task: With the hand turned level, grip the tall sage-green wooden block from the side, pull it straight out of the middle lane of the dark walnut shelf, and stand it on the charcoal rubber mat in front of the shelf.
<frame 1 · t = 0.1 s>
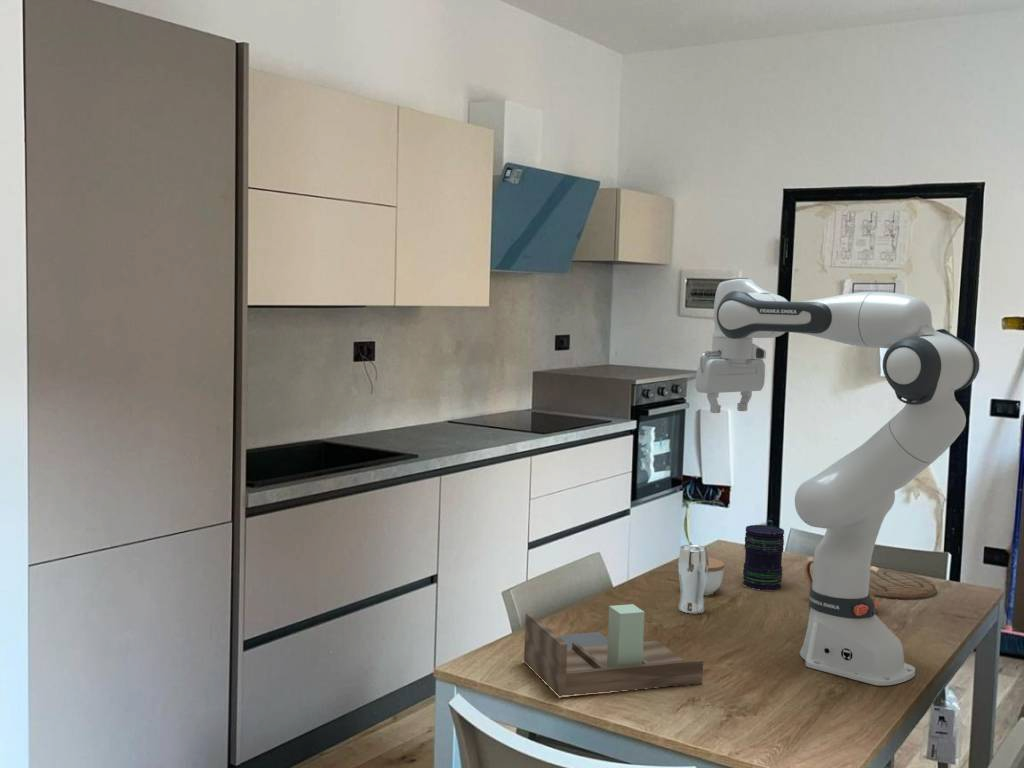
hand: (728, 411, 228), 48 cm above the table, tool pointing down, fingers open, 8 cm apart
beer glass: (691, 611, 238), on the table
block: (624, 670, 192), point 2 cm above the table, touching lane shelf
lane shelf: (614, 673, 196), on the table
ceramic jug: (838, 607, 245), on the table
storage jar: (761, 586, 262), on the table
trivet: (884, 588, 265), on the table
lidded jar: (701, 592, 254), on the table
mat: (581, 645, 212), on the table
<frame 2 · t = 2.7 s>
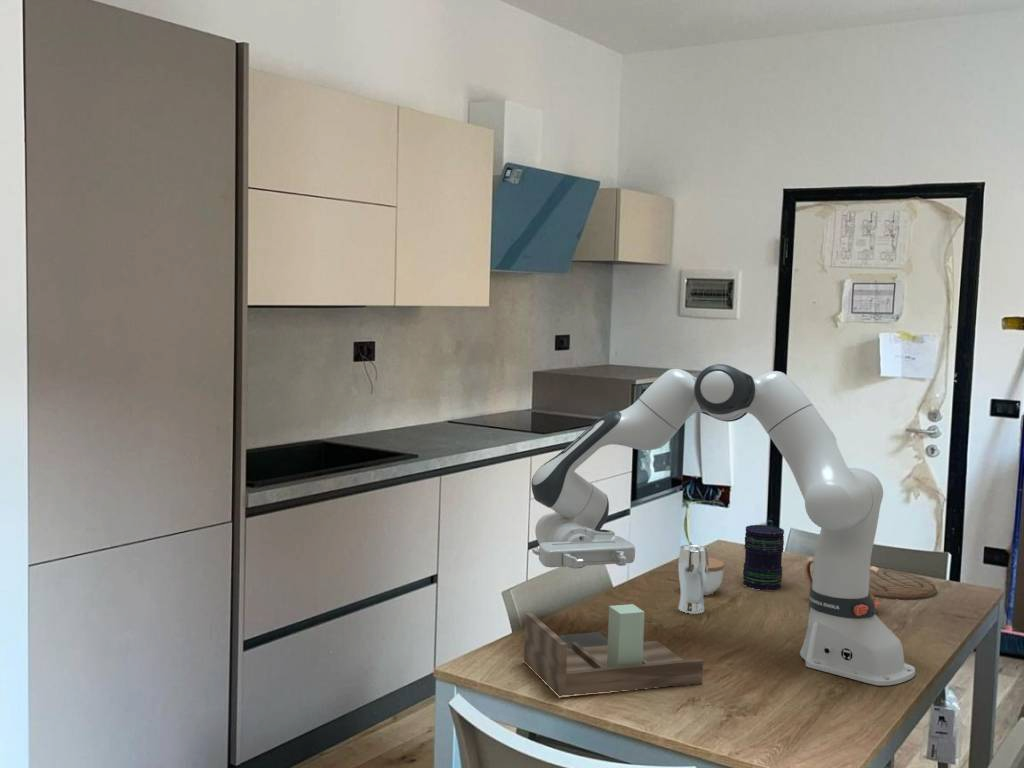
hand: (601, 563, 202), 20 cm above the table, tool horizontal, fingers open, 8 cm apart
nothing on the table moved.
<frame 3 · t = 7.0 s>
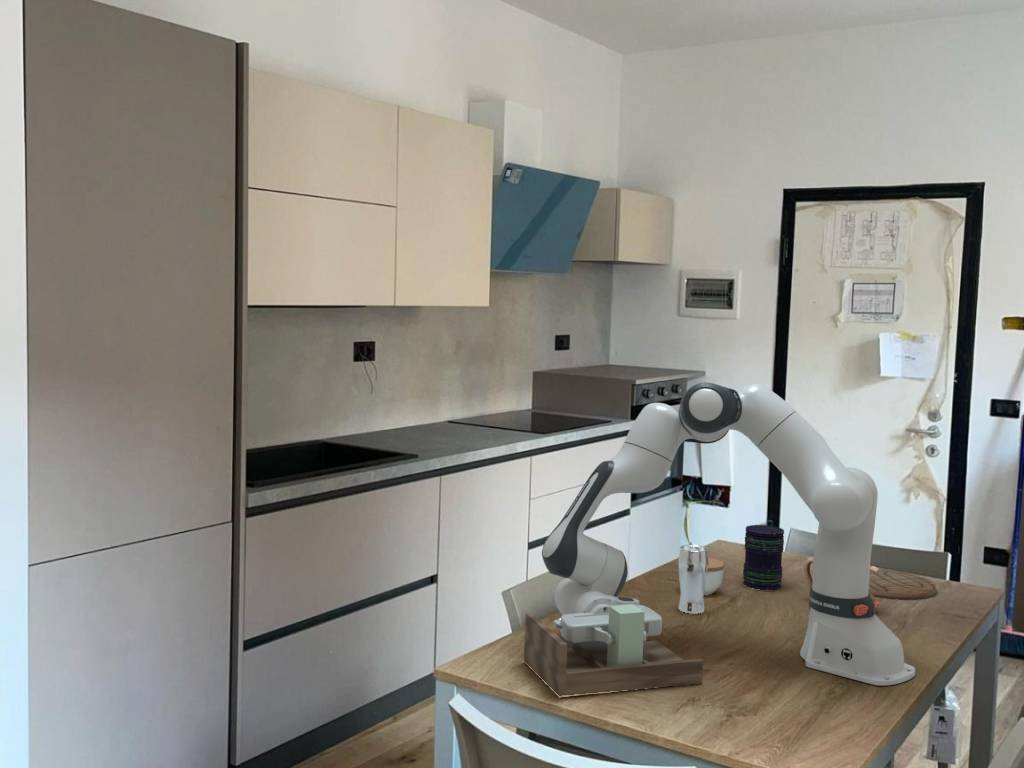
hand: (627, 638, 191), 9 cm above the table, tool horizontal, fingers closed on block, 5 cm apart
block: (624, 670, 192), point 2 cm above the table, touching gripper, lane shelf
everything else where it was.
when the fingers open (8 cm above the table, at t = 13.2 s): block drops 1 cm, resting on mat.
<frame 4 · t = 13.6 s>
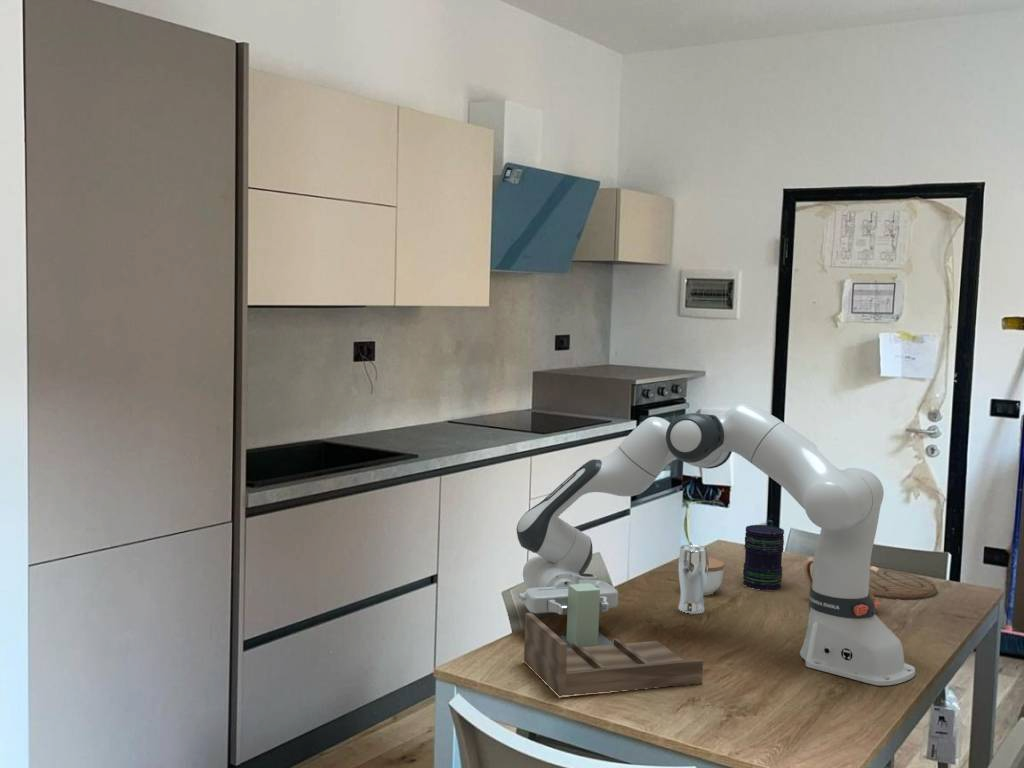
hand: (584, 609, 210), 8 cm above the table, tool horizontal, fingers open, 8 cm apart
block: (581, 643, 212), resting on mat
everything else where it was.
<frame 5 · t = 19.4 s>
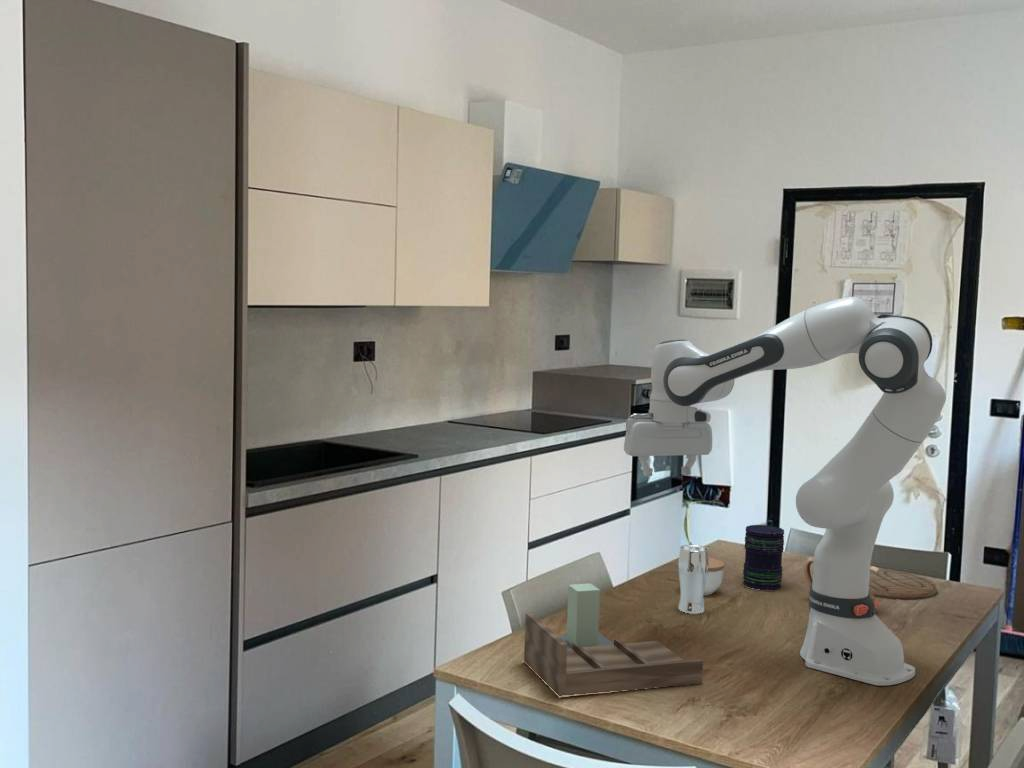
hand: (666, 475, 223), 34 cm above the table, tool pointing down, fingers open, 8 cm apart
nothing on the table moved.
at the end: block inside the target area on the mat (0.0 cm from its centre), point 0.4 cm above the mat's base; block tilted 0°; the gripper is holding nothing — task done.
